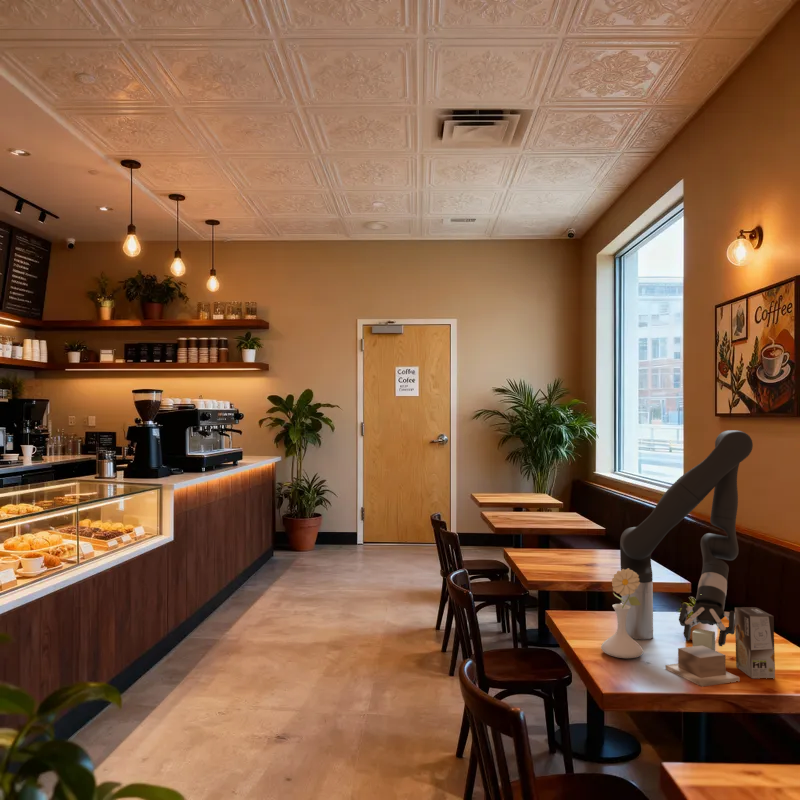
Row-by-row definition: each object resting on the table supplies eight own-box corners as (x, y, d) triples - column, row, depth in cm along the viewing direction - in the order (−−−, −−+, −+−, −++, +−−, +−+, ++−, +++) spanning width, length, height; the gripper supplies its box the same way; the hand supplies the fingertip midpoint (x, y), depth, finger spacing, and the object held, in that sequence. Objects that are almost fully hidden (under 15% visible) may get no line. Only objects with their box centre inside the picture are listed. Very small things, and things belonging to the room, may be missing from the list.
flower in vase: (592, 651, 191) (592, 564, 192) (624, 646, 195) (623, 561, 197) (623, 666, 179) (622, 573, 180) (656, 661, 183) (655, 570, 185)
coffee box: (776, 679, 170) (775, 616, 171) (751, 678, 170) (750, 615, 171) (758, 666, 179) (757, 606, 180) (734, 666, 180) (733, 606, 180)
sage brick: (692, 661, 184) (692, 631, 184) (696, 657, 187) (695, 628, 187) (712, 664, 181) (711, 635, 181) (715, 660, 184) (714, 631, 184)
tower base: (665, 668, 177) (665, 646, 178) (701, 664, 181) (701, 641, 181) (701, 686, 165) (701, 662, 165) (739, 681, 169) (739, 657, 169)
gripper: (683, 581, 195) (673, 629, 186) (736, 588, 187) (729, 639, 177) (688, 595, 199) (679, 644, 190) (740, 603, 191) (733, 654, 181)
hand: (703, 641), depth 183 cm, fingers open, 8 cm apart
